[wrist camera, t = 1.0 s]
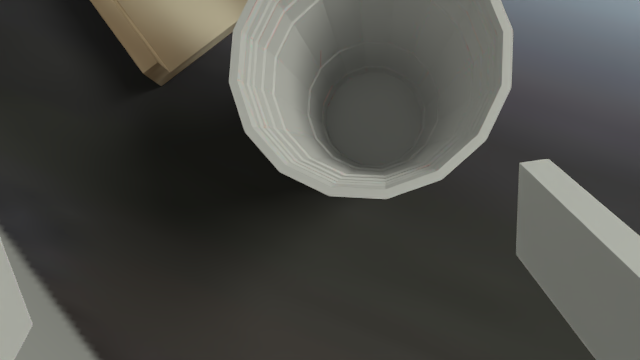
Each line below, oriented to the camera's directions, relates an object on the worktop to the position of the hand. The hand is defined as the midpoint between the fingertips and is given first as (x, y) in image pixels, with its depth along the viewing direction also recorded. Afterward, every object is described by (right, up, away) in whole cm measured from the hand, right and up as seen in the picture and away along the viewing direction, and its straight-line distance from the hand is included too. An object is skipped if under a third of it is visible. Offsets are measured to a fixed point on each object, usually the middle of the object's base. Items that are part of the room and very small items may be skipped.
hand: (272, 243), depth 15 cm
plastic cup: (+4, +5, +19) cm, 20 cm away
